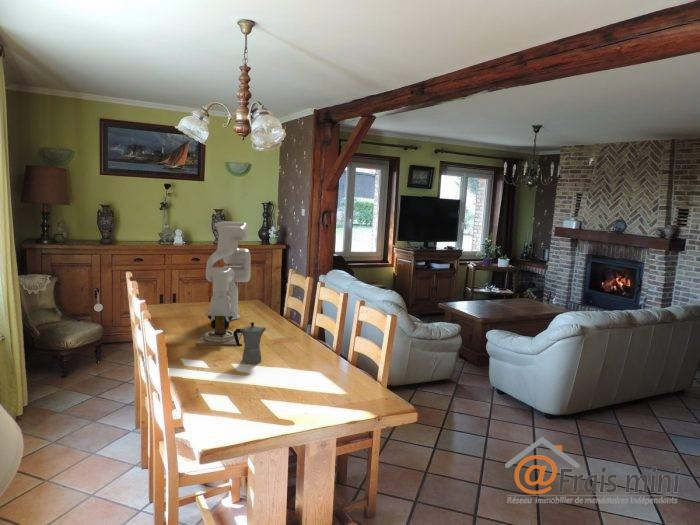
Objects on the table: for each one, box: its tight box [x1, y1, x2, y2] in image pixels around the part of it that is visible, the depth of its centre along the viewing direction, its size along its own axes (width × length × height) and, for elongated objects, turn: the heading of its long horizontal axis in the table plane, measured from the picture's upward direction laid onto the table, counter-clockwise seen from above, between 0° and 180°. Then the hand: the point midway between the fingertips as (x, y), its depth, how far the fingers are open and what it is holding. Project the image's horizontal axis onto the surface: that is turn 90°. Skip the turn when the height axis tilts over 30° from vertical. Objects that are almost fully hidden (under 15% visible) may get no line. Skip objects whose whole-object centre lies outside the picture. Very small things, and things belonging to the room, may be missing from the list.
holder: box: [195, 329, 243, 347], centre depth 255 cm, size 20×20×3 cm
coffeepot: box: [233, 321, 267, 365], centre depth 225 cm, size 15×9×18 cm, turn 119°
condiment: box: [211, 316, 231, 336], centre depth 253 cm, size 7×8×12 cm
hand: (220, 327), depth 254 cm, fingers closed on condiment, 6 cm apart
